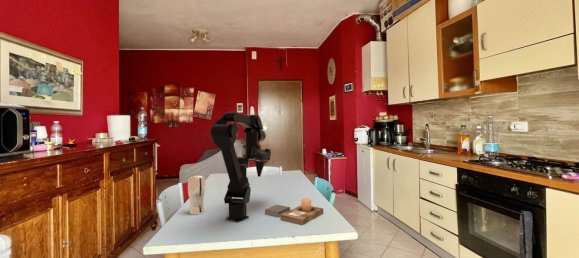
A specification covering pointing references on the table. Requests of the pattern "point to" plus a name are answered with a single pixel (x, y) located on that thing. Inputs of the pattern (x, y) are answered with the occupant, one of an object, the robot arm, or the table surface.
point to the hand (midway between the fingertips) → (252, 178)
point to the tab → (276, 210)
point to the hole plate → (301, 215)
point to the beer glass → (196, 194)
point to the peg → (306, 205)
